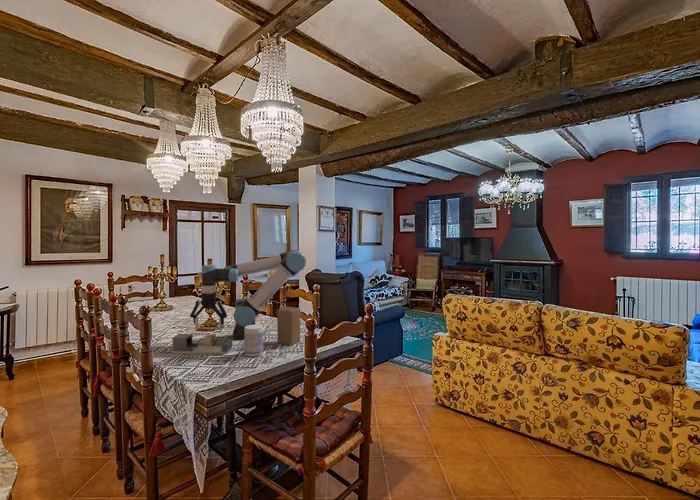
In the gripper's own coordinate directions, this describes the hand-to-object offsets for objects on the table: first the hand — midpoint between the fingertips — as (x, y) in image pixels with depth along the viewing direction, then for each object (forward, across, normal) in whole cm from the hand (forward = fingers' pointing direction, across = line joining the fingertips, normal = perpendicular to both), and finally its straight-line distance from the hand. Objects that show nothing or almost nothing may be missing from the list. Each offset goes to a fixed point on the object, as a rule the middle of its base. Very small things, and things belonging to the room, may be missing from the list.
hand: (208, 329), depth 203 cm
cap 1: (+8, +9, +10) cm, 15 cm away
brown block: (+9, 0, 0) cm, 9 cm away
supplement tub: (+9, -30, +14) cm, 34 cm away
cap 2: (+8, -14, +10) cm, 19 cm away
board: (+9, 0, +10) cm, 13 cm away
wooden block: (+8, -44, -6) cm, 46 cm away
